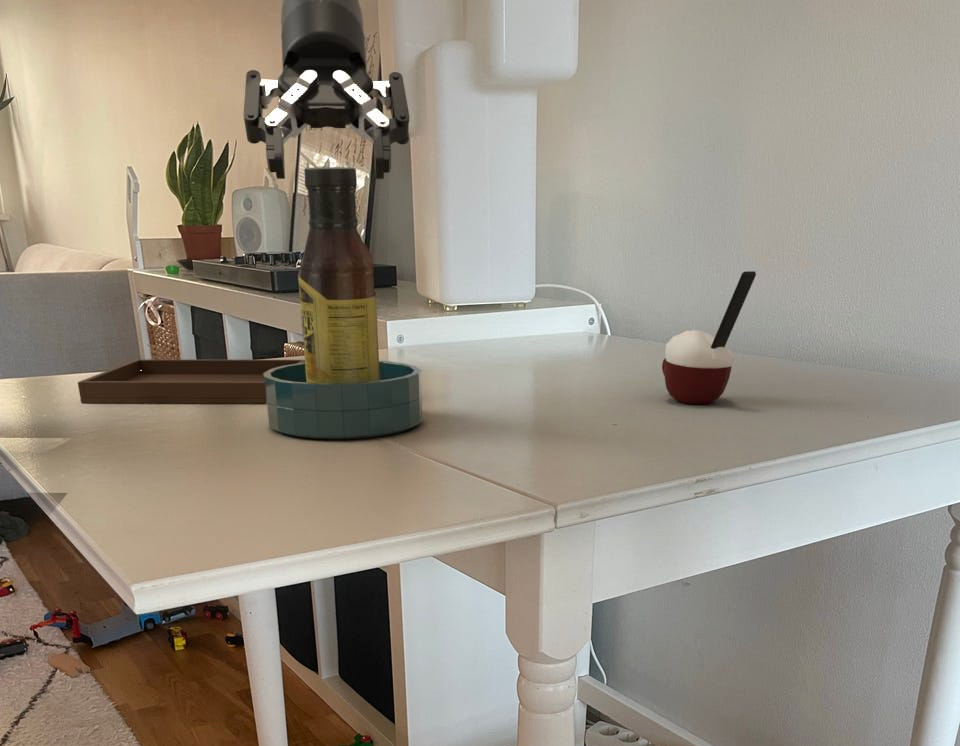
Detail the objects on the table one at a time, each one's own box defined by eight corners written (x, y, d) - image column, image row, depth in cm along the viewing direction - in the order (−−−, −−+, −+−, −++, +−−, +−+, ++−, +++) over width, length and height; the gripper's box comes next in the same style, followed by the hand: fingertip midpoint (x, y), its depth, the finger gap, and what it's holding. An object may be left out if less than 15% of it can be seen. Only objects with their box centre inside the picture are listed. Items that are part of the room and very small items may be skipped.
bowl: (251, 440, 79) (245, 384, 77) (288, 409, 91) (283, 359, 89) (413, 441, 78) (411, 384, 76) (428, 409, 90) (427, 360, 88)
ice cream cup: (648, 394, 97) (657, 266, 92) (708, 392, 98) (719, 265, 93) (683, 413, 88) (694, 272, 83) (748, 410, 89) (763, 271, 84)
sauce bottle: (317, 413, 87) (299, 168, 79) (386, 413, 87) (375, 168, 79) (302, 428, 81) (281, 165, 73) (376, 428, 81) (363, 165, 73)
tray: (80, 403, 94) (77, 382, 93) (138, 377, 108) (135, 359, 107) (276, 403, 93) (274, 382, 93) (309, 378, 107) (307, 359, 106)
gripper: (238, -5, 85) (239, 134, 79) (401, -2, 86) (414, 135, 81) (249, 73, 92) (251, 205, 86) (400, 74, 93) (412, 205, 88)
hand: (330, 171), depth 83 cm, fingers open, 8 cm apart
